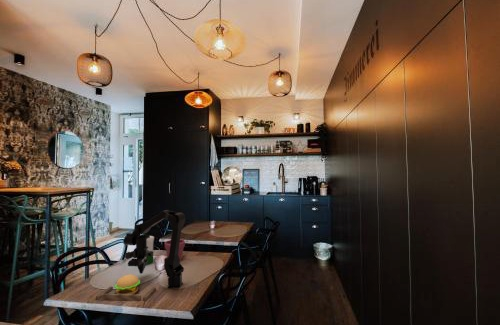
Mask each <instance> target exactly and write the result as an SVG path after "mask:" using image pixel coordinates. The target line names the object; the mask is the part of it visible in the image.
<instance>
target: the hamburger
mask: <svg viewBox="0 0 500 325" xmlns="http://www.w3.org/2000/svg"><path fill="white" fill-rule="evenodd" d="M140 284H141V280H140V279H139V277H138V276H136V275H135V274H125V275H123V276H121V277H120V278H118V280H117V282H116V284H115V285H114V288H115V289H116V290H115V292H116V294H136V293H137V292H138V290H139V285H140Z"/></svg>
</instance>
